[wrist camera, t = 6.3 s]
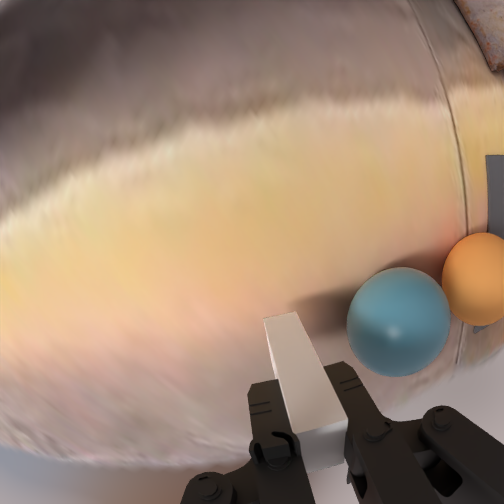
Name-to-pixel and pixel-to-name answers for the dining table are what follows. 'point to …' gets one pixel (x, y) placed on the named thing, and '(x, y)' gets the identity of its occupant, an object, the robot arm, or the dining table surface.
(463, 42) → the dining table surface
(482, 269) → the object ball
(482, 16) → the food item
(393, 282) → the blue ball
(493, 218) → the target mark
